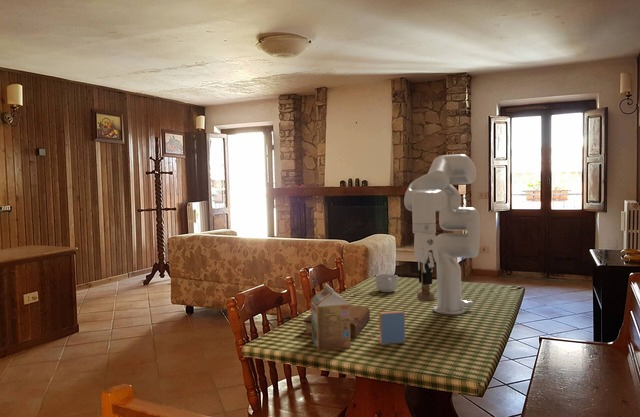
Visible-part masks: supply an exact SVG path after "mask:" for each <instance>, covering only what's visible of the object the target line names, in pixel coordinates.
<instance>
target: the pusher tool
mask: <svg viewBox="0 0 640 417" xmlns="http://www.w3.org/2000/svg"><path fill="white" fill-rule="evenodd" d="M426 263H429V262H428V261H426ZM426 266H427V265H426ZM422 272H423V263H421V281H422ZM430 286H431V284H427V285H424V284H423V282H421V291H419V292H417V294H416V295H417V296H416V297H417V301H418V302H424V303H430V302H434V301H435V299H436V298H435V293H434V292H431V290H430V289H431V288H430Z"/></svg>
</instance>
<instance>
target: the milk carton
mask: <svg viewBox="0 0 640 417" xmlns="http://www.w3.org/2000/svg"><path fill="white" fill-rule="evenodd" d="M324 286H325V288H323V289H321V290H320V291H318V292H317V293H315V294H314V295H313V296H312V297H311V298H310V309H311V310H310V312H311V313H310V315H311V322H312V335H311V341H312V343H313V344H314V346H315V348H316V349H317V351H319V352H320V351H330V350H341V349H350V348H351V347H352V346H351V340H352V338H350V306H351V305H350V303H349V302H348V301H347V300H346V299H344V298H343V297H342V296H341V295H340V294H339V293H337V291H335V290H334V288H332V287H331V286H330V285H329V284H327V283H325V285H324Z"/></svg>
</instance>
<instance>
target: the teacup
mask: <svg viewBox="0 0 640 417" xmlns="http://www.w3.org/2000/svg"><path fill="white" fill-rule="evenodd" d="M398 277H399V276H398V275H396V274H391V273H380V274H378V273H377V274H375V287H376V289H377V290H378V291H379V292H383V293H393V292H394V291H395V290H396V289H397V287H398V282H399V281H398Z"/></svg>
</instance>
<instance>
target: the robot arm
mask: <svg viewBox="0 0 640 417" xmlns="http://www.w3.org/2000/svg"><path fill="white" fill-rule="evenodd" d="M476 179H477V169H476V166H475V164H474V162H473V161H472V159H471V158H470V157H469V156H468V155H466V154H464V153H461V154H457V153H456V154H443V155H438V156H436V157H435V158H434V159H433V161H432V163H431V165H430V167H429V170H428V171H427V173H426V174H424V175H422V176H420V177H418V178H416V179H414V180H413V181H412V182H410V184H409V185H408V186H407V189H406V191H405V194H404V198H403V203H404V207H405V208H406V210H408V211H410V212H412V215H411V216H412V217H411V218H412V219H411V220H412V233H413V234H414V235H413V236H414V238H413V246H414V247H413V255H414V259H415V260H416V261H417V265H418V266H417V267H418V268H417V269H418V282H419V283H421V284H422V282H423V284H424V285H427V284H430V285H433V268H434V267H435V264H436V298H437V299H436V300H437V301H436V302H437V305H435V306H433V311H434V312H435V313H438V314H442V315H462V314H465V313H466V311H467V310H466V307H468V306H469V307H473V306H474V302H473V301H472V300H468V301H467V300H463V299H462V267H461V266H460V263H459V262H458V261H457V259H456V258H465V259H466V258H467V259H473V258H476V257H478V256H479V252H480V243H481V242H480V241H481V240H480V238H481V237H480V236H481V216H480V213H479V210H478V209H476V207H472V206H471V207H470V206H469V207H467V206H466V207H465V206H464V207H463V206H462V195H461V193H460V192H459V191H458V189H457V188H456V187H455V186H454V185H470V184H473V183H475V181H476ZM437 212H438V214H439V215H438V224H439V228H441V230H444V231H451V232H452V231H458V232H459V231H460V232H461V231H463V232H467V233H449V232H446V233H440V234H438V235H436V233H437V222H436V216H437V215H436V213H437ZM426 261H428V262H429V263H426ZM421 263H423V272H422V281H421ZM426 265H427V266H426Z"/></svg>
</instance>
